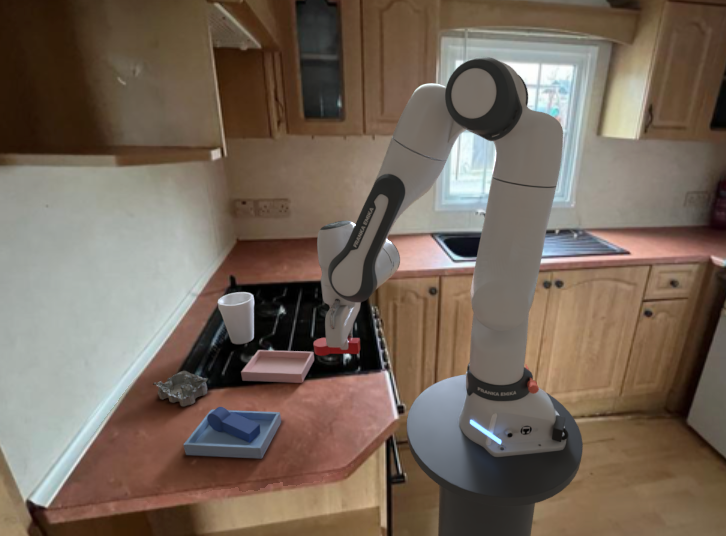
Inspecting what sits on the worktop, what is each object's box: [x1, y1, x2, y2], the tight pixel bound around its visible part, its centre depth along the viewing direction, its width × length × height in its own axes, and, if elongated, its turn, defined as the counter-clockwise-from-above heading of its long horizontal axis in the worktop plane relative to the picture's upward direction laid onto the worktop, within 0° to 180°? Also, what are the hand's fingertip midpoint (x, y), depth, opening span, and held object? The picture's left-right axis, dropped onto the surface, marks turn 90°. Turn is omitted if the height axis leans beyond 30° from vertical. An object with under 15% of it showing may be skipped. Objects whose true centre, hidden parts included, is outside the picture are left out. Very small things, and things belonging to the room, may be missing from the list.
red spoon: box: [313, 337, 361, 357], centre depth 99 cm, size 11×4×3 cm, turn 86°
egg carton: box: [152, 370, 209, 408], centre depth 96 cm, size 11×8×4 cm
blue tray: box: [183, 408, 282, 460], centre depth 84 cm, size 15×10×3 cm
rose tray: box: [240, 349, 315, 384], centre depth 106 cm, size 15×10×3 cm
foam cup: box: [217, 291, 255, 345], centre depth 119 cm, size 10×9×13 cm
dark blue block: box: [207, 406, 260, 443], centre depth 84 cm, size 11×4×3 cm
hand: (346, 344), depth 99 cm, fingers closed on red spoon, 2 cm apart
